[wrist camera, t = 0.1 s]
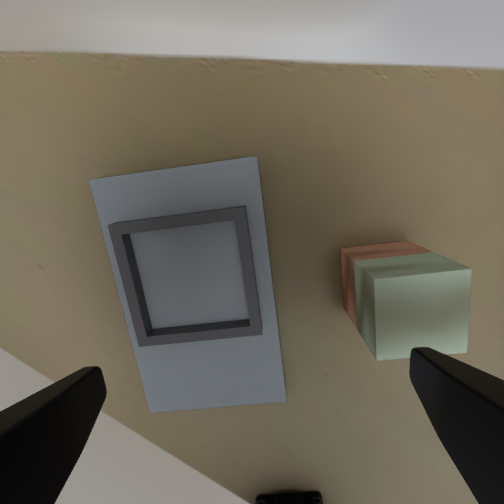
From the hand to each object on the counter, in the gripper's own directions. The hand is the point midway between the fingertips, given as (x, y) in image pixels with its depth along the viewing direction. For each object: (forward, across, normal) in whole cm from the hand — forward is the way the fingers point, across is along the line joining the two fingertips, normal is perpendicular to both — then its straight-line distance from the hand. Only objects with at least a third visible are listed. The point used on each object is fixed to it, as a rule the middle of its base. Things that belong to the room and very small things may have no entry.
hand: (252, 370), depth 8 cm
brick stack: (+15, -9, +3) cm, 17 cm away
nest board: (+14, +5, +3) cm, 16 cm away
